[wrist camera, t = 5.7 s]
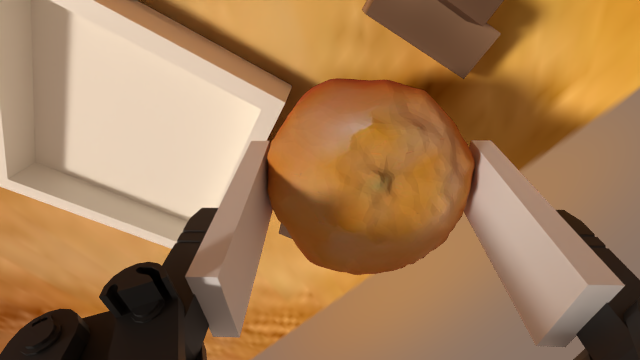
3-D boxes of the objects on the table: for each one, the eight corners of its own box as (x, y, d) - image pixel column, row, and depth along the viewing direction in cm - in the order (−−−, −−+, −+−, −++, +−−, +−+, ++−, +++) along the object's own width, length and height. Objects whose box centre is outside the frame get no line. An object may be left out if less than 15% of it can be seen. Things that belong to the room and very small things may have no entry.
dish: (20, -65, 14) (-45, -74, 12) (292, 85, 18) (285, 102, 16) (30, 160, 22) (-9, 183, 20) (219, 234, 26) (206, 261, 23)
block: (398, -59, 14) (421, -72, 10) (491, 11, 15) (539, 21, 12) (266, 183, 22) (253, 222, 19) (334, 213, 24) (333, 256, 20)
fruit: (270, 227, 17) (236, 288, 9) (291, 93, 17) (275, 34, 9) (403, 248, 18) (480, 323, 10) (428, 117, 17) (532, 82, 9)
